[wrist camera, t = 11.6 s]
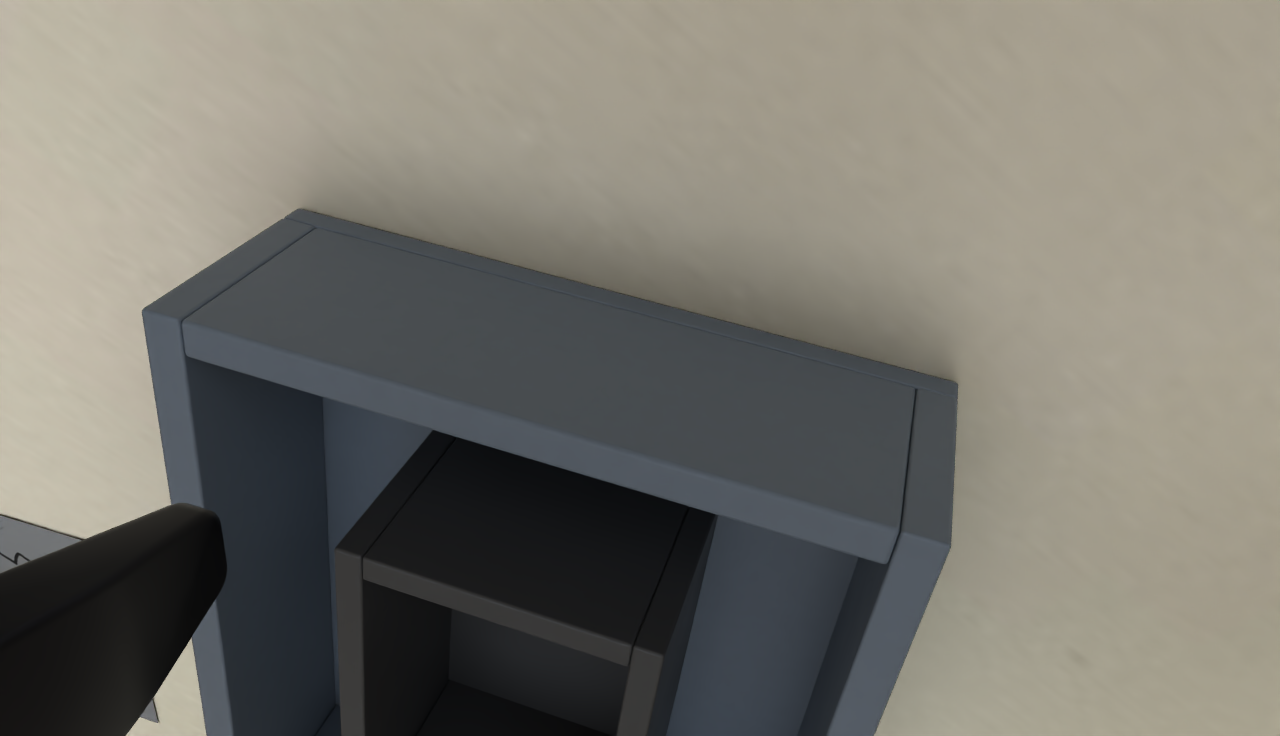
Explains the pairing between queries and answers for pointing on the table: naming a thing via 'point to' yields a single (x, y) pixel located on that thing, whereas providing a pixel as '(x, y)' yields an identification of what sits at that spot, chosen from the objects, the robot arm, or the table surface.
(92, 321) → the table surface
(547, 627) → the black bin
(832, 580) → the grey bin
